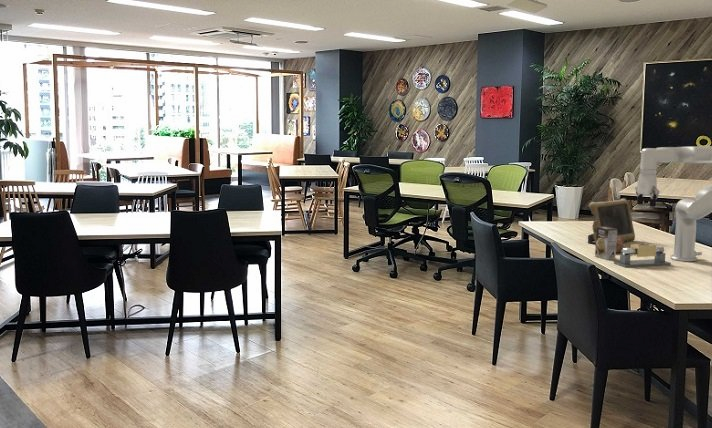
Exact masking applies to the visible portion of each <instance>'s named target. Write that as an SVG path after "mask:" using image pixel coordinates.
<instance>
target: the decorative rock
mask: <svg viewBox="0 0 712 428" xmlns="http://www.w3.org/2000/svg"><path fill="white" fill-rule="evenodd" d="M624 244H625V242H624V240H623V239H622V238H621V237H620V236H618V235H617V243H616V253H622V249H624V246H625V245H624Z"/></svg>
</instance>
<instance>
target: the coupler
mask: <svg viewBox="0 0 712 428" xmlns="http://www.w3.org/2000/svg"><path fill="white" fill-rule="evenodd" d="M656 247H657V245H656V244H652V243H642V242H641V243H632V244H631V243H630V248H636V249H637V254H629V255H630V256H636V258H646V257H649V258H650V257H655V256H656Z"/></svg>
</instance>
